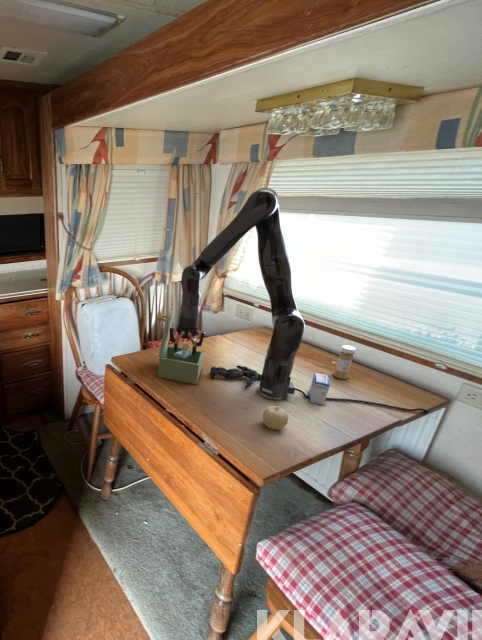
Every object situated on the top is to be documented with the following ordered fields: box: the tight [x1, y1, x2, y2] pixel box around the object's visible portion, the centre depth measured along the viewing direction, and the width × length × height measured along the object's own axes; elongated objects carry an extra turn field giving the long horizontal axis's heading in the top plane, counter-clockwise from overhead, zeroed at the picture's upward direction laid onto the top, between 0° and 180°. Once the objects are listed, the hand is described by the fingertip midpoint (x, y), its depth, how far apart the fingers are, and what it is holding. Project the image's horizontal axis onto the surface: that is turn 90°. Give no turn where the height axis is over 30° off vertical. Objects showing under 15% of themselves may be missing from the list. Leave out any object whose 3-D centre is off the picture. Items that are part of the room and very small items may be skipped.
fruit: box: [262, 405, 289, 430], centre depth 116 cm, size 8×7×8 cm
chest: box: [157, 345, 204, 385], centre depth 150 cm, size 16×14×9 cm
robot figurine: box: [210, 365, 262, 389], centre depth 146 cm, size 18×4×20 cm
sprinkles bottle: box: [333, 344, 356, 380], centre depth 145 cm, size 5×5×13 cm
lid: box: [156, 309, 176, 358], centre depth 148 cm, size 16×14×5 cm
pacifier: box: [174, 343, 192, 358], centre depth 147 cm, size 7×6×6 cm
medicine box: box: [308, 372, 331, 405], centre depth 131 cm, size 8×4×9 cm, turn 152°
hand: (184, 352), depth 147 cm, fingers closed on pacifier, 6 cm apart
